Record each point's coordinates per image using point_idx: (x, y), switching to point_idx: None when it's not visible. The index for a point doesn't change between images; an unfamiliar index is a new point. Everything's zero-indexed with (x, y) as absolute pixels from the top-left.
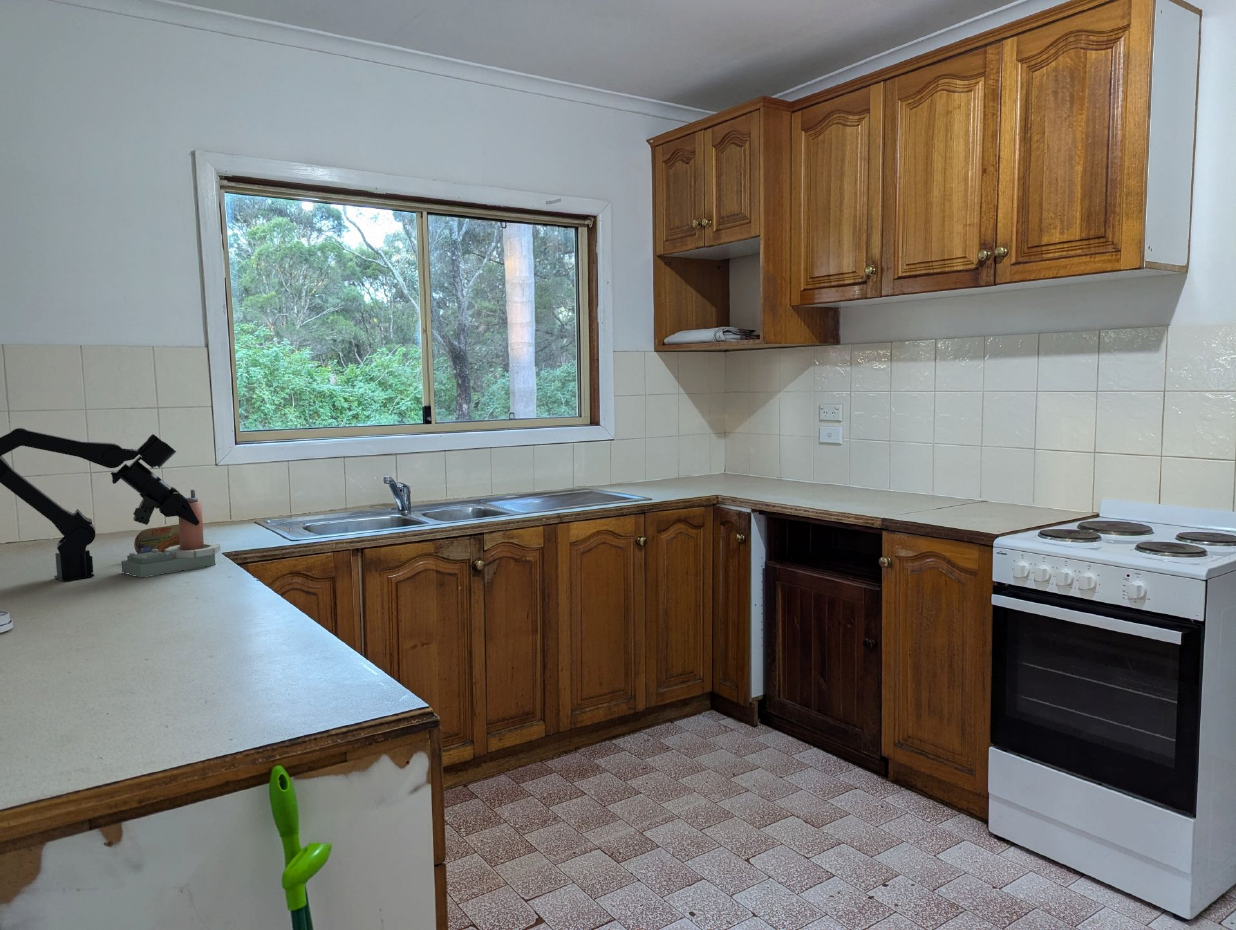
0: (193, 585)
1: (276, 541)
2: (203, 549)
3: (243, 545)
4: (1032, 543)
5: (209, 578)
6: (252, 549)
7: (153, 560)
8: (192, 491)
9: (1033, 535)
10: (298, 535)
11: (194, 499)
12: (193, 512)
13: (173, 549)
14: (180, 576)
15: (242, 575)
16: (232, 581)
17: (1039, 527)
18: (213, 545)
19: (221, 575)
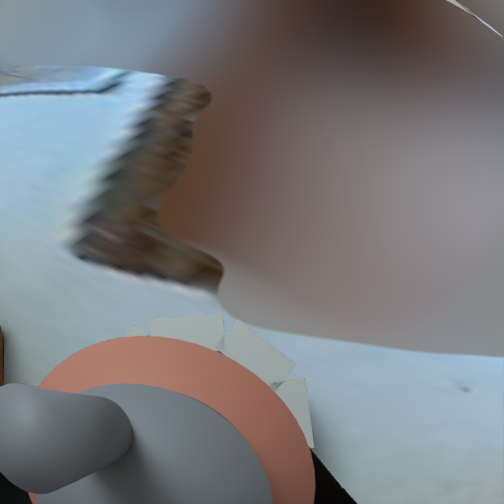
0: (482, 473)
1: (77, 112)
2: (297, 414)
3: (39, 173)
4: (494, 30)
5: (448, 435)
6: (108, 178)
7: None
8: (86, 475)
9: (479, 18)
10: (71, 74)
11: (264, 473)
12: (336, 482)
13: None
14: (368, 501)
15: (465, 356)
16: (500, 391)
17: (464, 7)
18: (227, 345)
19: (437, 402)
